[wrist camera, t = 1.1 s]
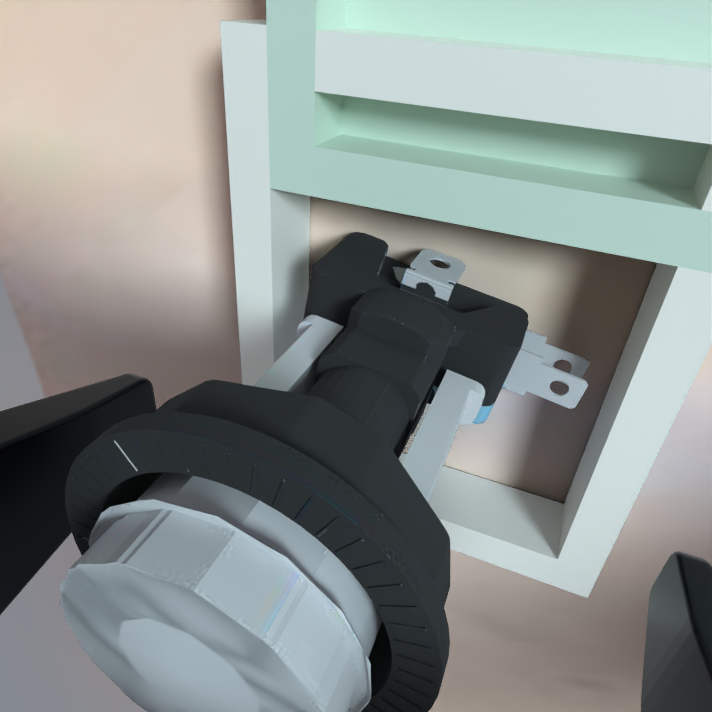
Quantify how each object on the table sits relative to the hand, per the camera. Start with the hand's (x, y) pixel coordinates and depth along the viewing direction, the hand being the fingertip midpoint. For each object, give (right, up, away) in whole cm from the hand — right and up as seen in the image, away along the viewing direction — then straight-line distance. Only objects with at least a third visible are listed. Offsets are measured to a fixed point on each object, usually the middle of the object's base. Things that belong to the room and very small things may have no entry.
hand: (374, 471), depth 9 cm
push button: (+2, +3, +5) cm, 6 cm away
